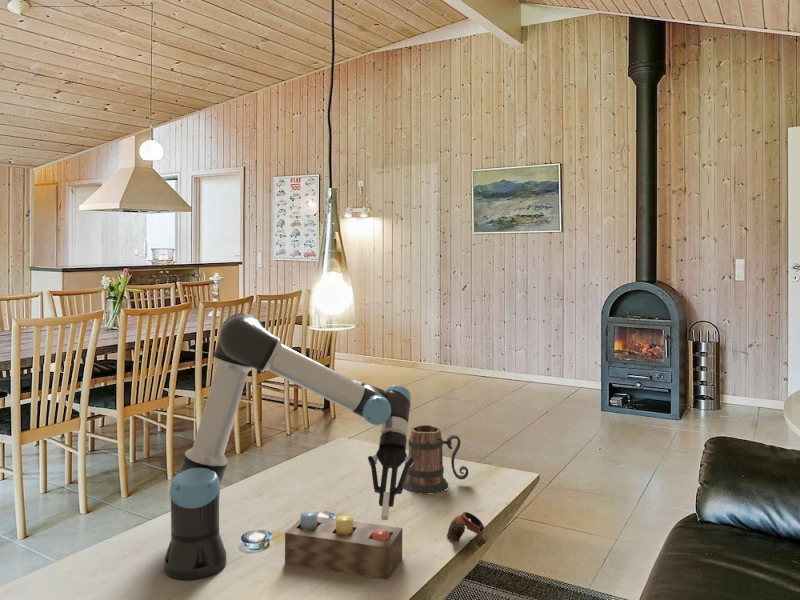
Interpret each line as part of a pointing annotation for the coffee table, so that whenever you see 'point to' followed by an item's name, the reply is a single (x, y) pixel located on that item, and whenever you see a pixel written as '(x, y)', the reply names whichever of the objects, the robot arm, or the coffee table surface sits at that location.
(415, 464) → the tankard
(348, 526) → the mustard button
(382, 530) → the red button
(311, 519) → the slate button
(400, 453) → the robot arm
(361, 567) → the console
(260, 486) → the coffee table surface
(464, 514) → the pottery mug
